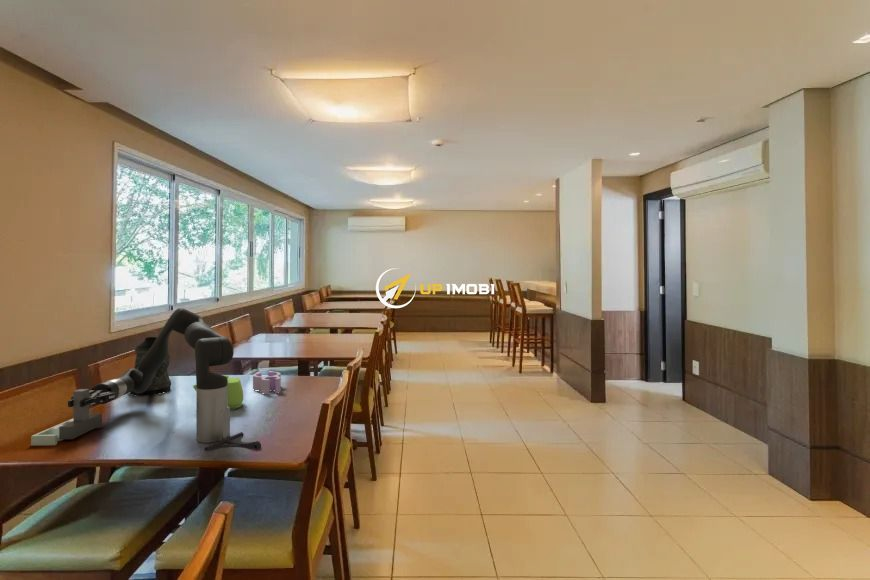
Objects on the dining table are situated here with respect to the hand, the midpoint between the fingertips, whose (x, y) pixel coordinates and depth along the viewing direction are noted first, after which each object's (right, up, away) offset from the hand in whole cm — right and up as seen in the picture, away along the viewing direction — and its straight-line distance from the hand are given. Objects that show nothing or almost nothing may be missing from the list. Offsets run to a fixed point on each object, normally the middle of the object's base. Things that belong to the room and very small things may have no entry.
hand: (75, 404), depth 146 cm
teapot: (+30, -11, +35) cm, 48 cm away
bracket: (+56, -13, -5) cm, 58 cm away
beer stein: (-12, -10, +59) cm, 61 cm away
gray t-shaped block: (0, -10, +3) cm, 11 cm away
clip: (+39, -10, +66) cm, 77 cm away
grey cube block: (-4, -11, -1) cm, 12 cm away
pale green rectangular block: (-5, -11, +3) cm, 12 cm away
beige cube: (-5, -11, +6) cm, 13 cm away
